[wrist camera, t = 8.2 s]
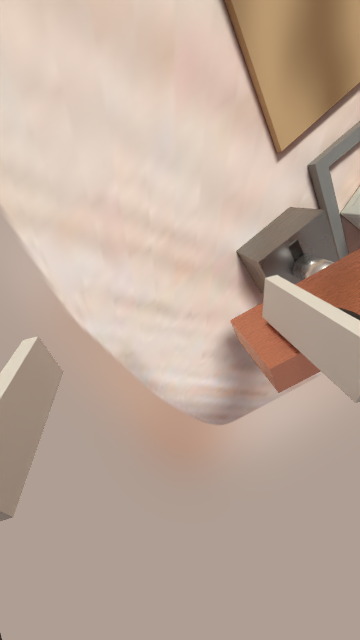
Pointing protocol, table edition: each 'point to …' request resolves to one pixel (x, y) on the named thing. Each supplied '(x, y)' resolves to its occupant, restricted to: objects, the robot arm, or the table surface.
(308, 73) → the cork pad
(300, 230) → the key housing
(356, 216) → the small box
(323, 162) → the seat rim
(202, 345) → the table surface
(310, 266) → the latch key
